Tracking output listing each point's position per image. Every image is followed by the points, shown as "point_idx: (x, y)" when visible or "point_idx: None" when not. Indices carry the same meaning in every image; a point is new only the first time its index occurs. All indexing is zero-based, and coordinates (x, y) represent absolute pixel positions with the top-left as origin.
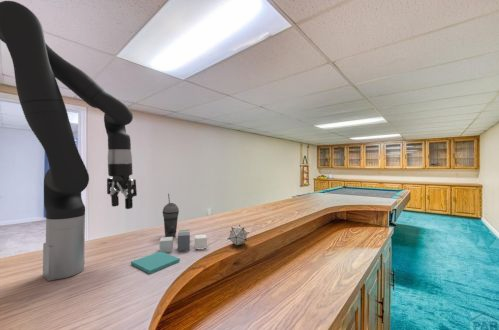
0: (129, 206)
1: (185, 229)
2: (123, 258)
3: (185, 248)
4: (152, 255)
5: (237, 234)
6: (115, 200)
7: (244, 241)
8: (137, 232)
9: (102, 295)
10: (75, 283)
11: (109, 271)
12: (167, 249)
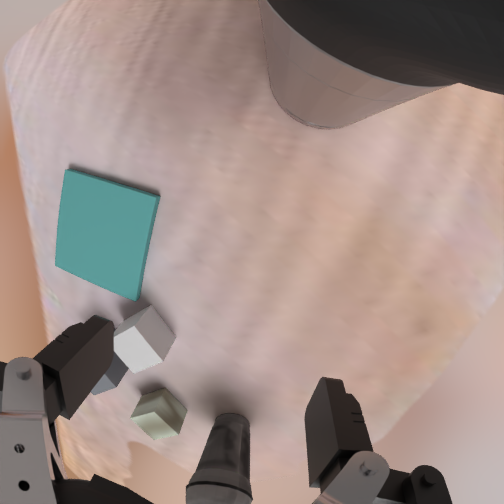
0: (73, 331)
1: (159, 434)
2: (229, 229)
3: None
4: (131, 263)
5: None
6: (318, 433)
7: None
8: (375, 424)
9: (100, 48)
10: (216, 44)
11: (185, 131)
12: (129, 319)
